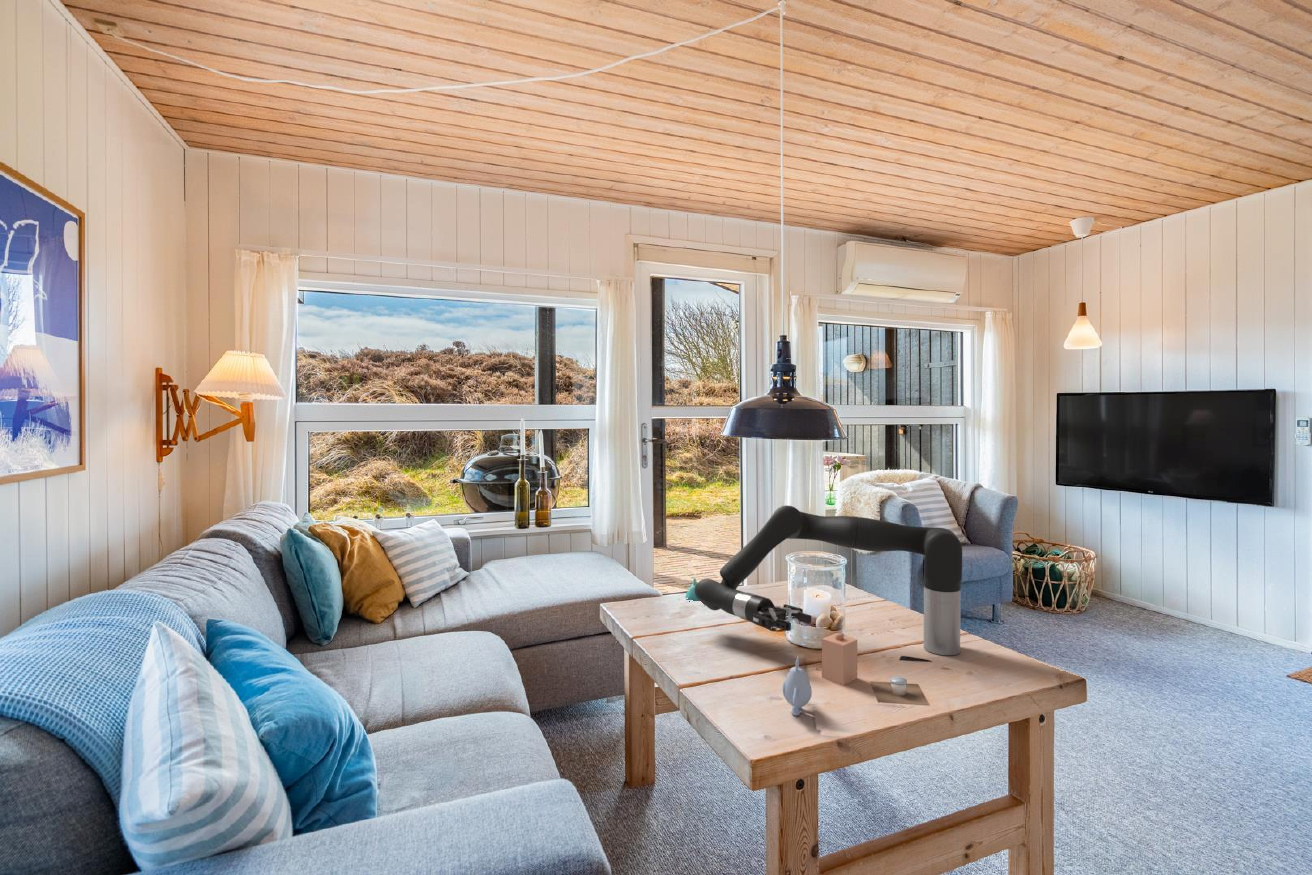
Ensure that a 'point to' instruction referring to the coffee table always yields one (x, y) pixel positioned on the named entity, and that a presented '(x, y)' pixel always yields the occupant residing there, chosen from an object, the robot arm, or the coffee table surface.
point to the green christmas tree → (692, 592)
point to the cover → (839, 658)
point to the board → (886, 696)
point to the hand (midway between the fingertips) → (800, 623)
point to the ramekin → (898, 686)
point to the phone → (913, 659)
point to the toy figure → (797, 688)
